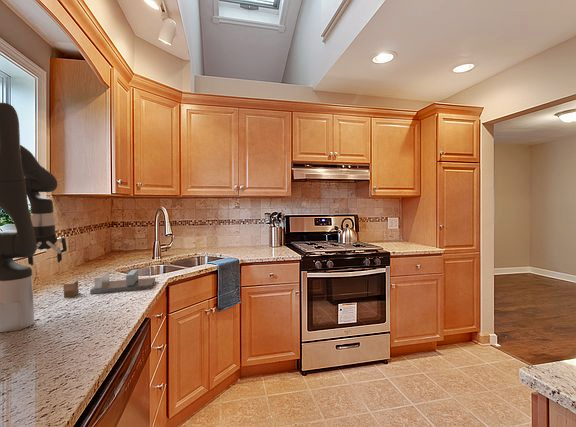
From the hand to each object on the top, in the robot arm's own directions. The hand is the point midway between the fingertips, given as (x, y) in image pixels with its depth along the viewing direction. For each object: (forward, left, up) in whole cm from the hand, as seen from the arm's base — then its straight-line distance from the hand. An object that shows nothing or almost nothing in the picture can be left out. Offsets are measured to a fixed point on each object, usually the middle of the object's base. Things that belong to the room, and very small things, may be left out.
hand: (45, 263), depth 123 cm
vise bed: (+21, -24, -18) cm, 37 cm away
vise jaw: (+21, -27, -16) cm, 38 cm away
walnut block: (+15, -3, -18) cm, 24 cm away
